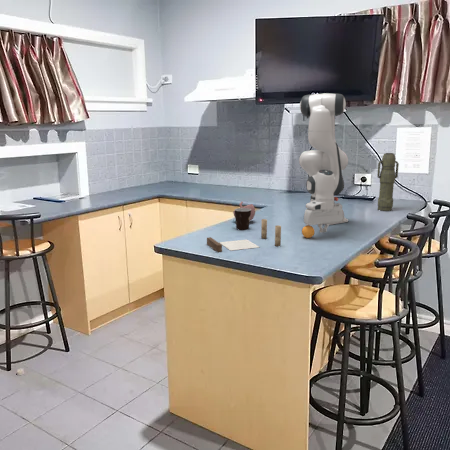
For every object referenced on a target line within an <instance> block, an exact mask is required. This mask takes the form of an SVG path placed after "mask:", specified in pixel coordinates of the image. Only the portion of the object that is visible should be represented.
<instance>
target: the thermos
mask: <svg viewBox="0 0 450 450" xmlns="http://www.w3.org/2000/svg"><path fill="white" fill-rule="evenodd" d="M395 155H396V154H395V153H393V152H384V154H383V155H382V158H381V160H379V162H378V165H377V173H376V174H377V179H379V183H380V184H379V194H378V198H377V211H379V210H380V212H392V211H393V207H394V197H393V195H394V186H395V185H394V184H395V182H396V179H397V178H398V175H399V165H400V164H399V162H398V161H397V160H396V156H395Z"/></svg>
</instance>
